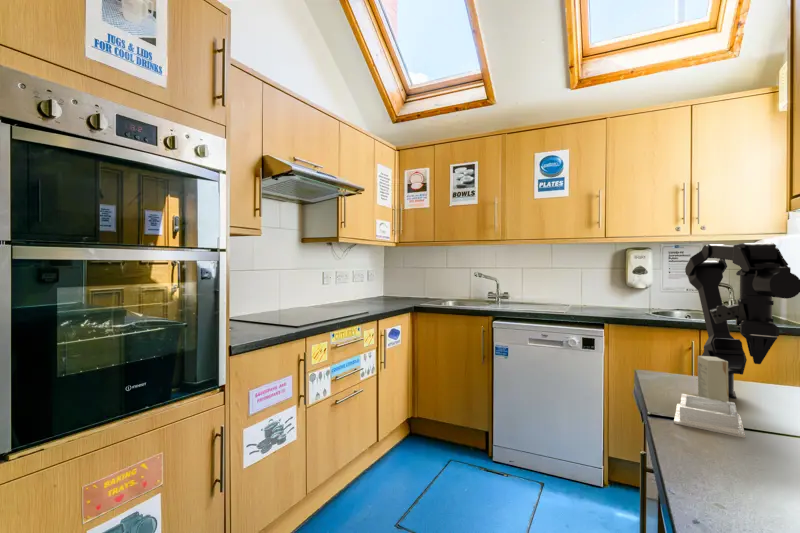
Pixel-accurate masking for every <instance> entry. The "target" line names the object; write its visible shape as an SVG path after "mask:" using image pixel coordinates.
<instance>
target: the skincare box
mask: <svg viewBox="0 0 800 533" xmlns="http://www.w3.org/2000/svg"><path fill="white" fill-rule="evenodd" d="M697 396H699V397H705V398H711V399H717V400H723V401H729V400H730V399H729V393H728V361H725V360H723V359H720V358H718V357H711V356H702V355H697ZM729 402H730V401H729Z"/></svg>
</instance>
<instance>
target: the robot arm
mask: <svg viewBox="0 0 800 533" xmlns="http://www.w3.org/2000/svg"><path fill="white" fill-rule="evenodd" d="M708 259H719V260H718V261H717V260H708ZM726 260H727V261H732V263H733V264H734V265H735V266H739V267H740V268H741V269H739V270H737V272H736V273H735V275H736V276H739V298H738V299H737V302H736V303H735V304H731V305H725V304H723V300H722V296H721V292H720V288H719V287H720V285H721V282H722V281H723V278H724V275H723V274H724V272H725V270H726V269H727V268H728V265H727V262H726ZM684 270H685V272H684V273H685V275H686V276H687V278H688V282H689V284H690V285H692V287H694V288H695V289H696V290H697V292H698V296H699V300H700V304H701V305H700V306H701V308H702V314H703V318H704V322H705V328H706V332H707V335H708V336H707V337H708V338H707V340H706V341H705V344H704V345H703V353H702V354H701V356H711V357H718V358H720V359H723V360H725V361H728V393H729V398H731V399H737V395H736V391H735V388H734V382H735V380H734V379H735V377H734V376H735V375H744V372H745V368H746V364H747V356H746V353H745V351H744V348H743V342H742V341H741V339H740V338H737V339H736V338H735V337H733V336H732V335H731V332H730V328H729V324H728V321H732V320H735V325H736V328H737V329H738V330H739V331H740V334H741V336H742V337H743V338H744V339H745V341H746V344H747V348H748V353H749V356H750V357H752V360H753V364H755V365H762V363H763V361H764V360H765V358H766V356H767V355H768V353H769V351H770V350H771V348H772V347H773V345H774V344H775V342H776V341H777V339H778V337H779V336H780V327H779V326H778V325H776V324H775V323H774V318H773V306H774V303H775V302H774V300H773V298H775V299H777V298H778V299H786V300H787V299H792V298H794V297H796V296H798V295H799V294H800V278H799V277H798V275H796V274H795V273H793V272H791V270H792V269H791V267H789V263H788V262H787V261H786V260H785V258H784V256H783V253H781V251H780V249H779V248H778V247H777V245H776V244H775V243H773V242H741V243H737V244H734V245H731V244H730V245H727V244H723V243H718V244H717V243H716V244H715V243H710V244H705V245H703V246H702V248H701V250H700V251H699V252H697V253H696V254H694V255H692V256H691V257H690V258H689V260H688V262H687V263H686V265H685V269H684Z"/></svg>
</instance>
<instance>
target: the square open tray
mask: <svg viewBox="0 0 800 533" xmlns="http://www.w3.org/2000/svg"><path fill="white" fill-rule="evenodd" d="M675 408H676V409H675V414H674V419H673V423H674V425H675V424H676V425H680V426H686V427H689V428H694V429H700V430H705V431H709V432H714V433H718V434H724V435H729V436H733V437H738V438H743V439H744V438H746V433H745V428H744V426H743V420H742V418H741V414H738V411H737V406H736V403H735V402H734V401H723V400H717V399H711V398H705V397H699V396H698V395H691V394H686V393H681V396H680V403H676V407H675Z"/></svg>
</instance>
